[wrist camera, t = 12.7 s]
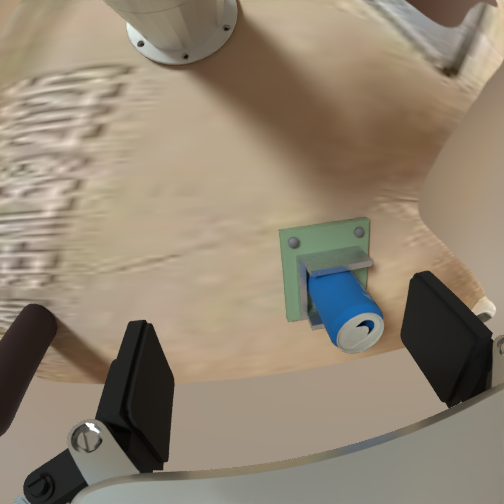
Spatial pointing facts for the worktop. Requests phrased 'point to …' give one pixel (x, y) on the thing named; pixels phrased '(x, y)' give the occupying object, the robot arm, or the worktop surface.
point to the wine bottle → (22, 357)
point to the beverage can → (346, 311)
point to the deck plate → (317, 241)
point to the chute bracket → (321, 266)
